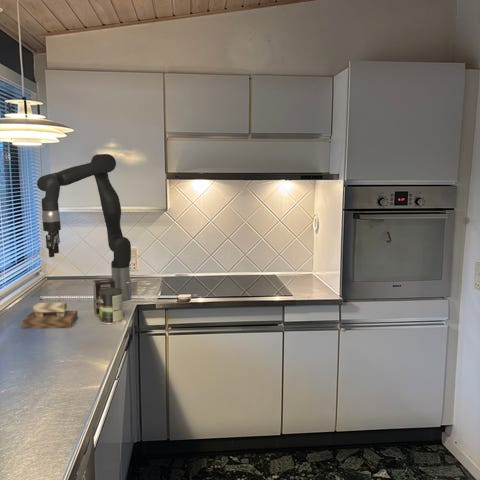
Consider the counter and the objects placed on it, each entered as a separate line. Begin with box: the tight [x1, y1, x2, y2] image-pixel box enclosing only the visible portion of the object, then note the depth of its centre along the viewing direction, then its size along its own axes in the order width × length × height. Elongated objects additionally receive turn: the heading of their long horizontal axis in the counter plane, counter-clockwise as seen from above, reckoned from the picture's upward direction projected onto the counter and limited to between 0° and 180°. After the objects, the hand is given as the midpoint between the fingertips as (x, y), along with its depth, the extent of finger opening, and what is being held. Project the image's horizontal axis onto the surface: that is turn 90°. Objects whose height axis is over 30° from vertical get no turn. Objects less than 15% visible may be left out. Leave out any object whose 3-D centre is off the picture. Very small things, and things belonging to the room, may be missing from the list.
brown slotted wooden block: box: [22, 310, 79, 330], centre depth 213 cm, size 20×12×4 cm, turn 95°
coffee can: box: [99, 288, 124, 325], centre depth 217 cm, size 10×10×14 cm
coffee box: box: [92, 278, 115, 317], centre depth 227 cm, size 9×6×16 cm
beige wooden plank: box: [32, 302, 68, 317], centre depth 212 cm, size 13×4×8 cm, turn 95°
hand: (54, 255), depth 221 cm, fingers open, 8 cm apart
